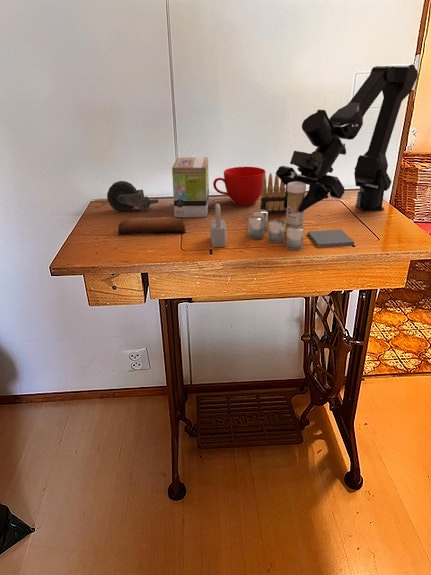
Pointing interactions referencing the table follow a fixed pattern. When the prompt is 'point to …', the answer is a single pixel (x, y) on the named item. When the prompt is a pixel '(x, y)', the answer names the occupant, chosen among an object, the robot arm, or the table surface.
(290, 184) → the sprinkles bottle
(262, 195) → the ammunition clip
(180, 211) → the tea box
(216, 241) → the padlock
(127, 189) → the caster wheel
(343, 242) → the mat
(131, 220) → the sunglasses case
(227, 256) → the table surface
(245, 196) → the ceramic cup
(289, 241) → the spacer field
